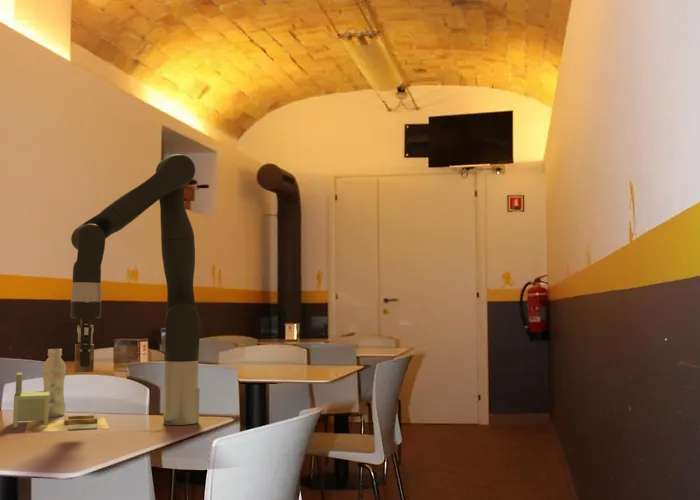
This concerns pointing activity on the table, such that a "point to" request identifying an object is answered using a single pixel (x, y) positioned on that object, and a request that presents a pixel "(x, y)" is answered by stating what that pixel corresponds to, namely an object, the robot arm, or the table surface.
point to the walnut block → (77, 359)
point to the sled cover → (30, 404)
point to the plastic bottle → (54, 382)
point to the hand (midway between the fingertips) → (84, 365)
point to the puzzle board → (68, 424)
